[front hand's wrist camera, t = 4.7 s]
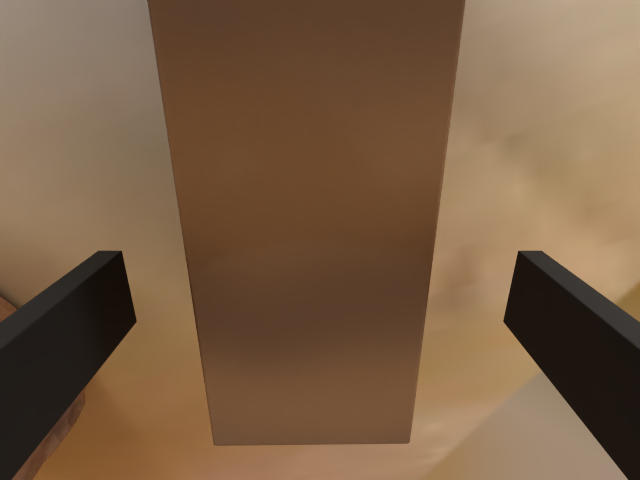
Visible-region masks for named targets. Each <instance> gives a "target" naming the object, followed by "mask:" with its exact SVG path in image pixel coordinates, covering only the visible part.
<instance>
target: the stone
mask: <svg viewBox="0 0 640 480" xmlns="http://www.w3.org/2000/svg"><path fill="white" fill-rule="evenodd" d="M16 310H17V309H16V308H15V307H13V306H12V305H11V304H10V303H8V302H7V301H6V300H4V299H3V298H2V297H0V322H1V321H3V320H4V319H6V318H7V317H8V316H10V315H11V314H12V313H14V312H15V311H16ZM84 390H85V388H84V389H83V390H82V391H81V393H80V394H79V395H78V396H77V398H76V399H75V400H74V401H73V403H72V404H71V405H70V407H69V408H68V409H67V410H66V412H65V413H64V414H63V415H62V417H61V418H60V419H59V420H58V422H57V423H56V424H55V425H54V427H53V428H52V429H51V431H50V432H49V433H48V434H47V436H46V437H45V438H44V439H43V441H42V442H41V443H40V444H39V446H38V447H37V448H36V450H35V451H34V452H33V453H32V455H31V456H30V457H29V458H28V460H27V461H26V462H25V463H24V465H23V466H22V467H21V468H20V470H19V471H18V472H17V474H16V475H15V476H14V477H13V479H12V480H33V478H34V477H35V475H36V474H37V472H38V471H39V469H40V468H41V466H42V465H43V463H44V462H45V461H46V460H47V459H48V457H49V456H50V455H51V454H52V453H53V452H54V451H55V449H56V448H57V447H58V446H59V445H60V444H61V442H62V441H63V440H64V438H65V437H66V435H67V434H68V432H69V431H70V430H71V428H72V427H73V425H74V424H75V422H76V420H77V418H78V416H79V415H80V413H81V411H82V409H83V407H84V405H85V395H84Z"/></svg>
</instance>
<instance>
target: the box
mask: <svg viewBox="0 0 640 480" xmlns="http://www.w3.org/2000/svg"><path fill="white" fill-rule="evenodd" d="M147 1H148V7H149V14H150V21H151V27H152V34H153V41H154V47H155V54H156V61H157V67H158V74H159V81H160V87H161V94H162V101H163V108H164V114H165V121H166V128H167V134H168V141H169V148H170V154H171V161H172V168H173V174H174V181H175V188H176V194H177V201H178V208H179V215H180V221H181V228H182V235H183V241H184V248H185V255H186V261H187V268H188V275H189V281H190V288H191V295H192V301H193V308H194V315H195V322H196V328H197V335H198V342H199V348H200V355H201V362H202V368H203V375H204V382H205V388H206V395H207V402H208V408H209V415H210V422H211V429H212V435H213V442H214V445H216V446H226V445H317V444H408V443H409V442H410V435H411V427H412V419H413V411H414V403H415V395H416V387H417V380H418V372H419V364H420V356H421V348H422V340H423V332H424V324H425V316H426V308H427V300H428V292H429V284H430V276H431V268H432V261H433V253H434V245H435V237H436V229H437V221H438V213H439V205H440V197H441V189H442V181H443V173H444V165H445V157H446V149H447V142H448V134H449V126H450V118H451V110H452V102H453V94H454V86H455V78H456V70H457V62H458V54H459V46H460V38H461V30H462V23H463V15H464V7H465V0H147Z"/></svg>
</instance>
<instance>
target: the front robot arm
mask: <svg viewBox="0 0 640 480" xmlns="http://www.w3.org/2000/svg"><path fill="white" fill-rule="evenodd" d="M136 322H137V321H136V316H135V311H134V307H133V302H132V297H131V293H130V288H129V283H128V278H127V274H126V269H125V264H124V260H123V255H122V251H98V252H96V253H95V254H93V255H92V256H91V257H89V258H88V259H87V260H85V261H84V262H82V263H81V264H80V265H78V266H77V267H76V268H74V269H73V270H71V271H70V272H69V273H67V274H66V275H65V276H63V277H62V278H60V279H59V280H58V281H56V282H55V283H54V284H52V285H51V286H49V287H48V288H47V289H45V290H44V291H43V292H41V293H40V294H38V295H37V296H36V297H34V298H33V299H32V300H30V301H29V302H27V303H26V304H25V305H23V306H22V307H21V308H19V309H18V310H16V311H15V312H14V313H12V314H11V315H10V316H8V317H7V318H6V319H4V320H3V321H1V322H0V480H12V479H13V477H14V476H15V475H16V474H17V472H18V471H19V470H20V468H21V467H22V466H23V465H24V463H25V462H26V461H27V460H28V458H29V457H30V456H31V455H32V453H33V452H34V451H35V450H36V448H37V447H38V446H39V444H40V443H41V442H42V441H43V439H44V438H45V437H46V436H47V434H48V433H49V432H50V431H51V429H52V428H53V427H54V425H55V424H56V423H57V422H58V420H59V419H60V418H61V417H62V415H63V414H64V413H65V412H66V410H67V409H68V408H69V407H70V405H71V404H72V403H73V401H74V400H75V399H76V398H77V396H78V395H79V394H80V393H81V391H82V390H83V389H84V388H85V386H86V385H87V384H88V382H89V381H90V380H91V379H92V377H93V376H94V375H95V374H96V372H97V371H98V370H99V369H100V367H101V366H102V365H103V364H104V362H105V361H106V360H107V358H108V357H109V356H110V355H111V353H112V352H113V351H114V350H115V348H116V347H117V346H118V345H119V343H120V342H121V341H122V339H123V338H124V337H125V336H126V334H127V333H128V332H129V331H130V329H131V328H132V327H133V326H134V324H135V323H136ZM503 322H504V323H505V324H506V326H507V327H508V328H509V329H510V331H511V332H512V333H513V334H514V336H515V337H516V338H517V339H518V341H519V342H520V343H521V345H522V346H523V347H524V348H525V350H526V351H527V352H528V353H529V355H530V356H531V357H532V358H533V360H534V361H535V362H536V364H537V365H538V366H539V367H540V369H541V370H542V371H543V372H544V374H545V375H546V376H547V377H548V379H549V380H550V381H551V382H552V384H553V385H554V386H555V388H556V389H557V390H558V391H559V393H560V394H561V395H562V396H563V398H564V399H565V400H566V401H567V403H568V404H569V405H570V407H571V408H572V409H573V410H574V412H575V413H576V414H577V415H578V417H579V418H580V419H581V420H582V422H583V423H584V424H585V425H586V427H587V428H588V429H589V431H590V432H591V433H592V434H593V436H594V437H595V438H596V439H597V441H598V442H599V443H600V444H601V446H602V447H603V448H604V450H605V451H606V452H607V453H608V455H609V456H610V457H611V458H612V460H613V461H614V462H615V463H616V465H617V466H618V467H619V468H620V470H621V471H622V472H623V474H624V475H625V476H626V477H627V479H628V480H640V322H639V321H637V320H636V319H634V318H633V317H632V316H630V315H629V314H628V313H626V312H625V311H623V310H622V309H621V308H619V307H618V306H617V305H615V304H614V303H613V302H611V301H610V300H608V299H607V298H606V297H604V296H603V295H602V294H600V293H599V292H597V291H596V290H595V289H593V288H592V287H591V286H589V285H588V284H586V283H585V282H584V281H582V280H581V279H580V278H578V277H577V276H575V275H574V274H573V273H571V272H570V271H569V270H567V269H566V268H564V267H563V266H562V265H560V264H559V263H558V262H556V261H555V260H553V259H552V258H551V257H549V256H548V255H547V254H545V253H544V252H542V251H518V255H517V260H516V264H515V269H514V274H513V278H512V283H511V288H510V293H509V297H508V302H507V307H506V311H505V316H504V321H503Z"/></svg>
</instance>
